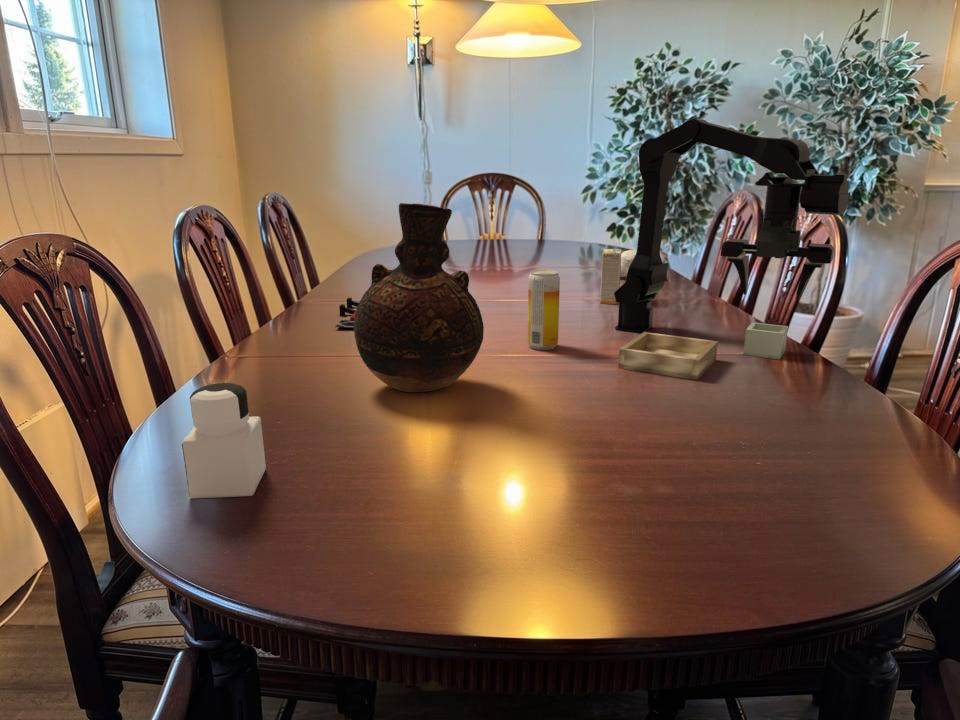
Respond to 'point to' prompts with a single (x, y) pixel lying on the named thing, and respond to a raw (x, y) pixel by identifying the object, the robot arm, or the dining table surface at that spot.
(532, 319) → the beer can
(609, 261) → the supplement box
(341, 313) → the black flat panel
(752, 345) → the sage crate
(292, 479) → the dining table surface
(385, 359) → the ceramic vessel
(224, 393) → the medicine bottle
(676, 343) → the tray
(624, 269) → the penguin figurine
